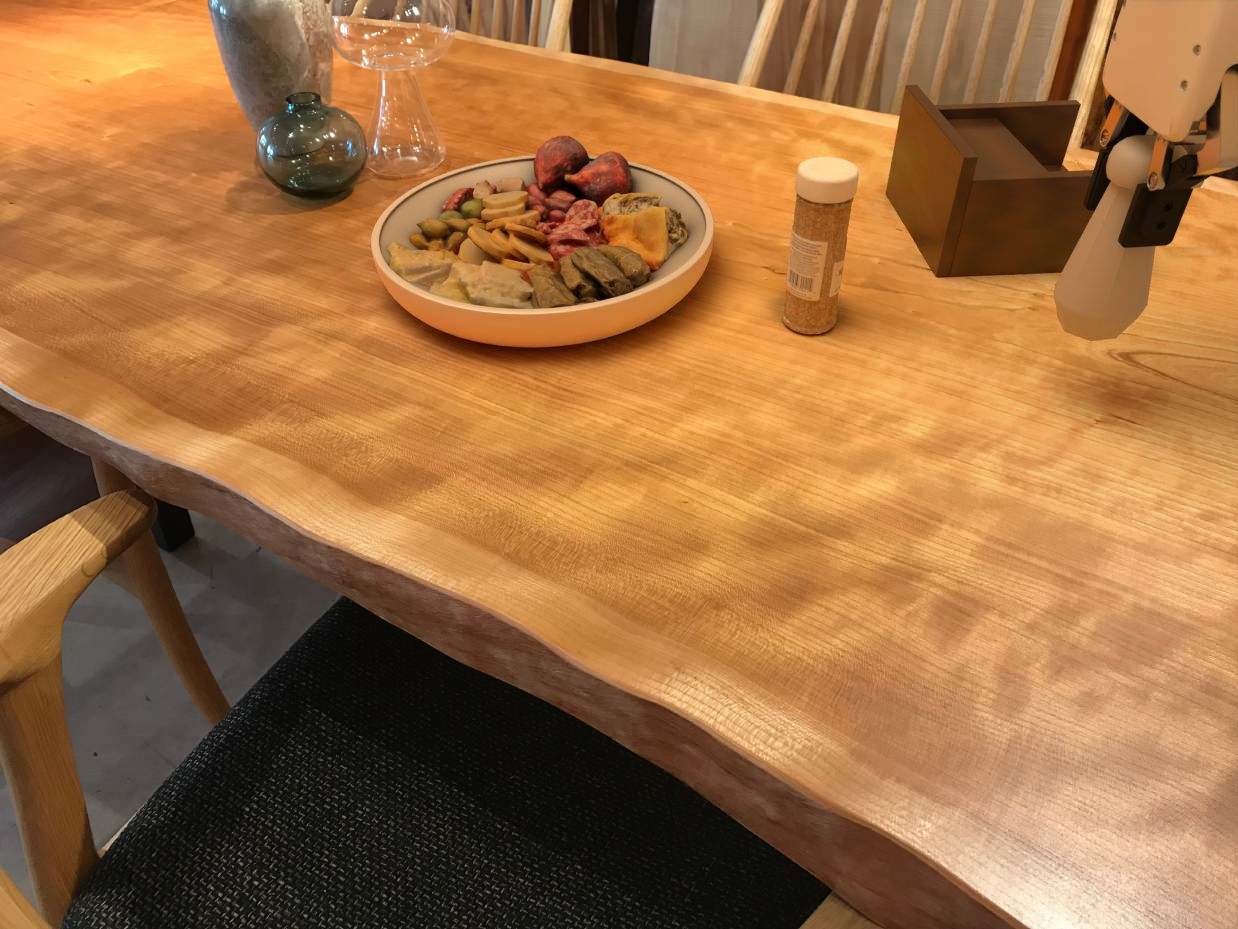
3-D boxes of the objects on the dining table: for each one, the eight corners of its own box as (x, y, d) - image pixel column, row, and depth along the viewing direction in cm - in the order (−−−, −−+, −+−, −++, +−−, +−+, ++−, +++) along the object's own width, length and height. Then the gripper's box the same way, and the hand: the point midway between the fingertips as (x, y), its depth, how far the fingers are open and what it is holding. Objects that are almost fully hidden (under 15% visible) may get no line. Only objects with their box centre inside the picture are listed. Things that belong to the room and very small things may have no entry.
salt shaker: (1141, 315, 64) (1213, 133, 56) (1128, 357, 61) (1203, 170, 52) (1053, 295, 67) (1110, 118, 58) (1036, 334, 63) (1094, 152, 54)
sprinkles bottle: (846, 327, 76) (872, 171, 67) (800, 342, 74) (821, 184, 65) (814, 302, 79) (835, 149, 70) (769, 315, 77) (785, 161, 68)
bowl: (714, 371, 71) (719, 282, 66) (339, 363, 73) (316, 276, 68) (709, 201, 94) (713, 125, 89) (423, 198, 96) (410, 124, 90)
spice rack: (1049, 187, 95) (1082, 78, 87) (1125, 269, 82) (1172, 149, 75) (885, 193, 94) (905, 84, 87) (935, 277, 81) (964, 157, 74)
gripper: (1431, -71, 40) (1256, 290, 52) (1225, -137, 53) (1123, 167, 65) (1262, -61, 40) (1126, 298, 52) (1097, -129, 53) (1018, 173, 65)
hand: (1125, 222), depth 59 cm, fingers closed on salt shaker, 4 cm apart
